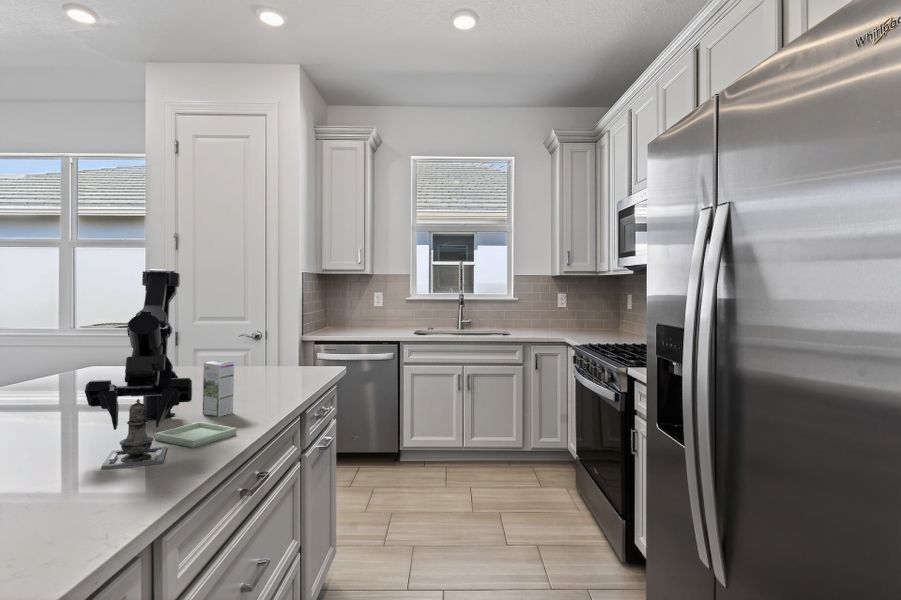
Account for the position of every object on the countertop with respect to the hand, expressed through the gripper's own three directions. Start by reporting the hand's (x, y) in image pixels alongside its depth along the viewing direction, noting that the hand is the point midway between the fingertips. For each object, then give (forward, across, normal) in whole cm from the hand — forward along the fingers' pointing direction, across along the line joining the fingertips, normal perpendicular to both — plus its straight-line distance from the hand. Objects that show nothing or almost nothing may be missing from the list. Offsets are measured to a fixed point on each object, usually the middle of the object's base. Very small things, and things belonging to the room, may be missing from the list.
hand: (136, 427), depth 99 cm
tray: (-5, +10, +14) cm, 18 cm away
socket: (+4, 0, +6) cm, 7 cm away
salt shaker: (+4, 0, +6) cm, 7 cm away
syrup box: (-20, +15, +30) cm, 39 cm away
